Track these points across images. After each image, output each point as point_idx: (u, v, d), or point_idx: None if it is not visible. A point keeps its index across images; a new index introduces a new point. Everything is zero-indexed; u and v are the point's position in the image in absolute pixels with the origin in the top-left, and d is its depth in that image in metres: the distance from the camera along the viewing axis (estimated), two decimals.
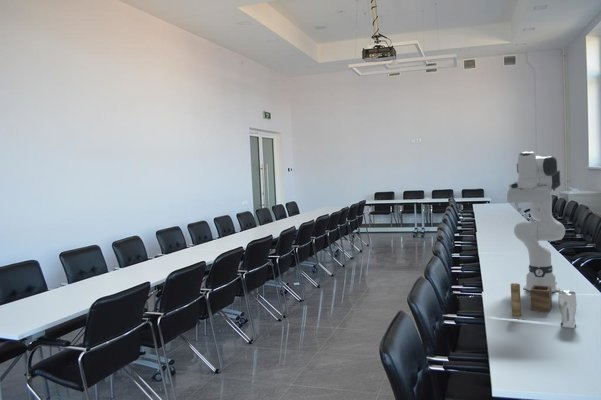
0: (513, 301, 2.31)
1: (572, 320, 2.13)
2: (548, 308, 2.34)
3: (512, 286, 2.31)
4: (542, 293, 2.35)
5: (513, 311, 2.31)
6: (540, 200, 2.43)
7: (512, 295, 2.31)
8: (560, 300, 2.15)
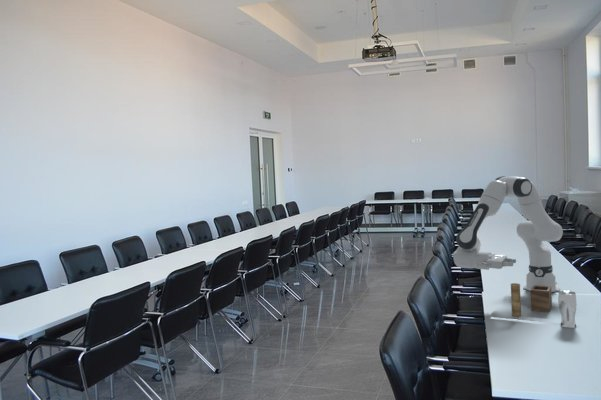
0: (513, 301, 2.31)
1: (572, 320, 2.13)
2: (548, 308, 2.34)
3: (512, 286, 2.31)
4: (542, 293, 2.35)
5: (513, 311, 2.31)
6: None
7: (512, 295, 2.31)
8: (560, 300, 2.15)
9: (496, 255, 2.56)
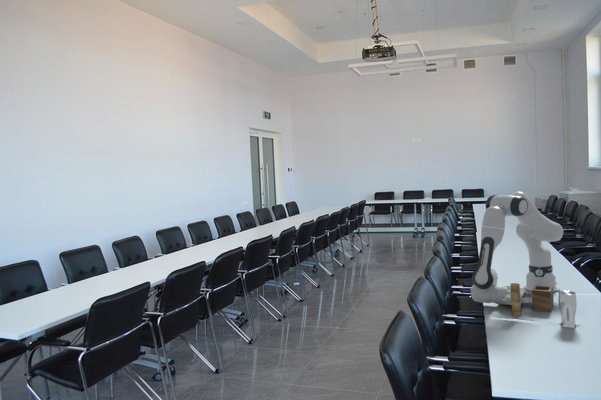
0: (513, 301, 2.31)
1: (572, 320, 2.13)
2: (550, 308, 2.33)
3: (512, 286, 2.31)
4: (543, 293, 2.34)
5: (513, 311, 2.31)
6: None
7: (512, 295, 2.31)
8: (560, 300, 2.15)
9: None
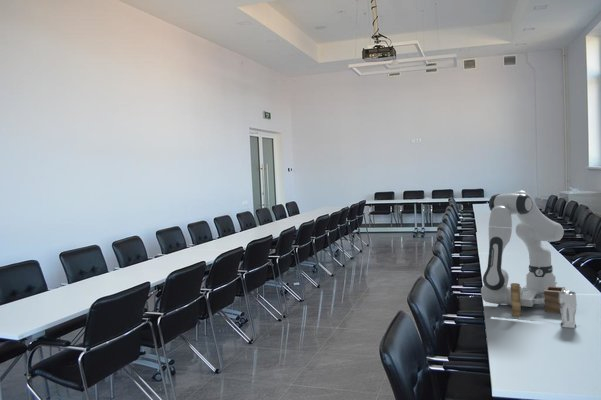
0: (513, 301, 2.31)
1: (572, 320, 2.13)
2: None
3: (512, 286, 2.31)
4: (556, 294, 2.31)
5: (513, 311, 2.31)
6: None
7: (512, 295, 2.31)
8: (560, 300, 2.15)
9: (526, 289, 2.50)
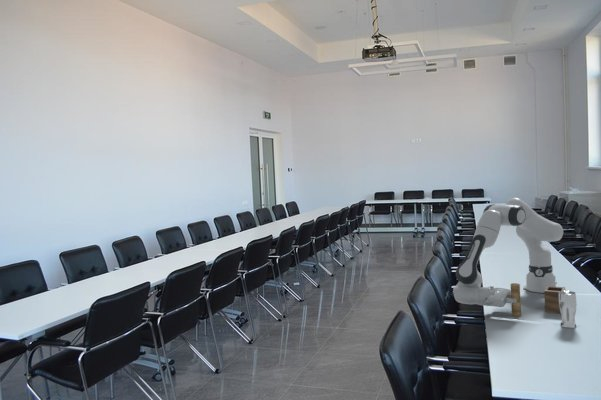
0: None
1: (572, 320, 2.13)
2: None
3: (512, 286, 2.31)
4: (556, 294, 2.31)
5: (513, 311, 2.31)
6: None
7: (512, 295, 2.31)
8: (560, 300, 2.15)
9: (499, 289, 2.43)
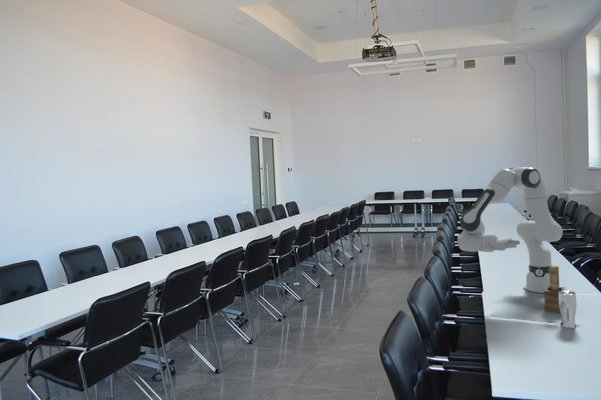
0: (552, 283, 2.35)
1: (572, 320, 2.13)
2: None
3: (551, 268, 2.34)
4: (556, 294, 2.31)
5: None
6: None
7: (551, 277, 2.35)
8: (560, 300, 2.15)
9: (500, 237, 2.58)
